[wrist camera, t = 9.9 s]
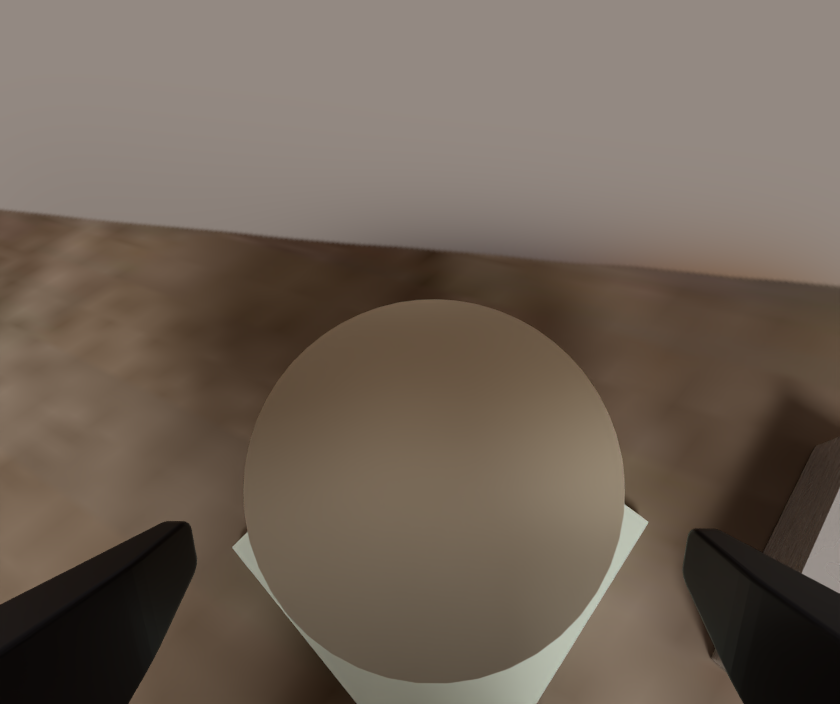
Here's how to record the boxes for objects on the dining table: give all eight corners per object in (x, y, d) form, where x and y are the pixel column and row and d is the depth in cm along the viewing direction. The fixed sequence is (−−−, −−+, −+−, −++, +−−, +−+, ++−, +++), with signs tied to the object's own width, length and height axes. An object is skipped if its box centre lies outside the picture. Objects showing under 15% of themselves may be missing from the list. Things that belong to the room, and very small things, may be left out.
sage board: (457, 820, 13) (458, 830, 12) (238, 548, 17) (231, 547, 16) (642, 524, 16) (648, 522, 16) (426, 359, 20) (426, 353, 20)
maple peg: (527, 618, 15) (685, 665, 5) (363, 631, 15) (212, 701, 5) (501, 456, 17) (571, 286, 8) (363, 467, 17) (265, 312, 8)
